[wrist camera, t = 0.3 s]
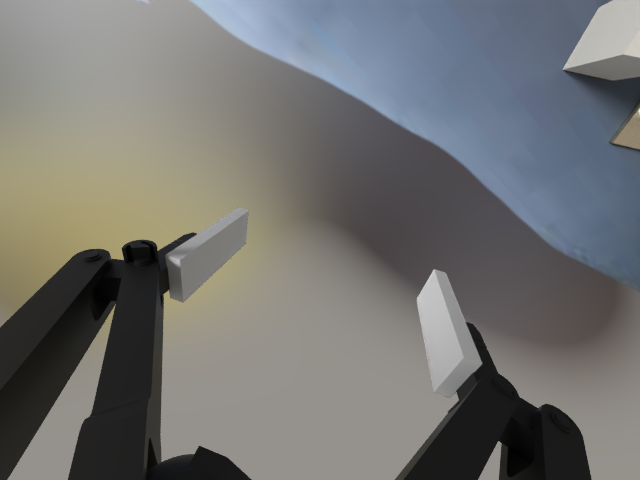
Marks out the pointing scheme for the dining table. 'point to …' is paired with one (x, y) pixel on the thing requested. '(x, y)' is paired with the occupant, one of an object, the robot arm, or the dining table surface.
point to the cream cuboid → (610, 43)
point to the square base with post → (629, 131)
